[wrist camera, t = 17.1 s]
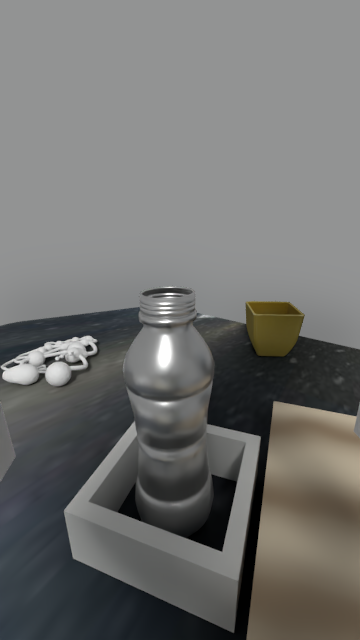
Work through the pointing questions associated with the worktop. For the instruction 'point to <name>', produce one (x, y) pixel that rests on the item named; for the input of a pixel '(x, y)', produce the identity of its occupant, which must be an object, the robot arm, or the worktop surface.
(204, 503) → the plastic bottle
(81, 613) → the worktop surface
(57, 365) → the tangled rod sculpture
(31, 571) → the worktop surface
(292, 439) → the beige rectangular block
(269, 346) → the flower pot
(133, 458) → the frame
